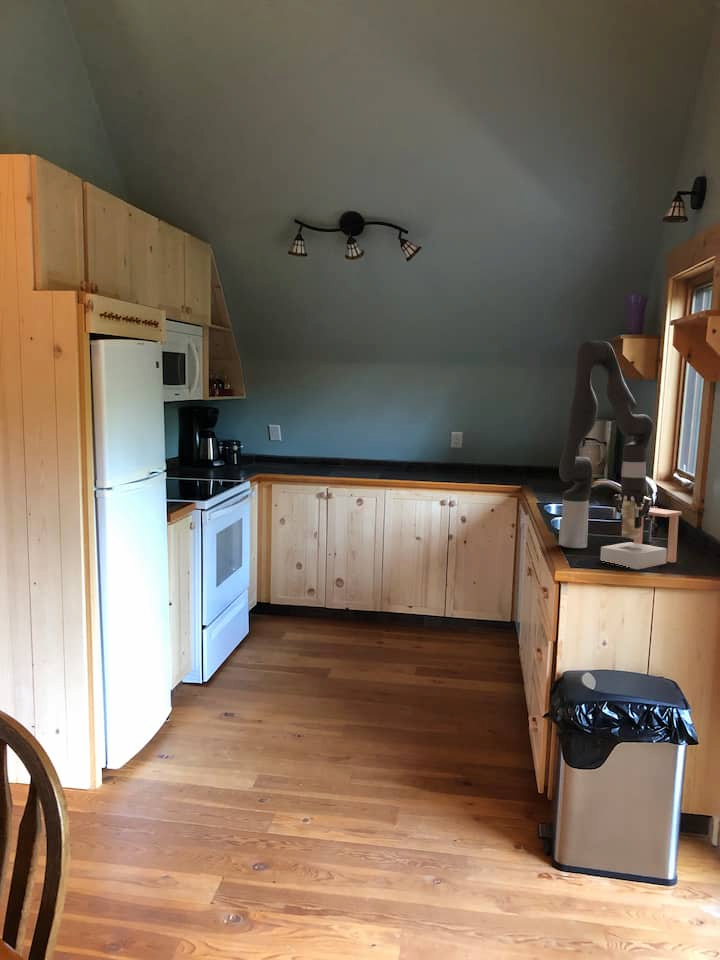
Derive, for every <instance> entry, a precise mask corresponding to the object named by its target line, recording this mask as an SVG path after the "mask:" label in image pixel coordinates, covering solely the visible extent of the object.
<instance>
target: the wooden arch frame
mask: <svg viewBox="0 0 720 960" xmlns="http://www.w3.org/2000/svg"><path fill="white" fill-rule="evenodd" d="M642 507H643V505H642ZM648 515H650V516H655V517H663V518H668V517H669V520H668V521H669V522H668V523H669V524H668V537H667V538H668V540H667V556H666V563H668V562H669V563H676V562H677V550H678V533H679V532H678V530H679V517H680V516H681V515H683V512H682V511H680V510H673V509H672V510H671V509H664V508H656V507H650V510H649V513H648ZM643 517H644V516H643ZM643 517H642V523H641V524H642V525H641V527H640V537H638V538H634V541H633V543H639V544H643V543H642V537H643Z"/></svg>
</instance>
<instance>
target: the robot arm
mask: <svg viewBox="0 0 720 960" xmlns="http://www.w3.org/2000/svg"><path fill="white" fill-rule="evenodd" d="M577 349H578V350H577V353H576V354H577V355H576V363H575V376H574V377H575V378H574V387H573V388H574V389H573V394H572V401H571V406H570V410H569V416H568V417H569V418H568V425H567V432H566V435H565V436H566V437H565V442H564V446H563V449H562V453H561V457H560V461H559V467H558V474H559V478H560V479H561V481H562V482H566V483H567V482H569V483H573V482H575V484H574V485H573V486H572V487H571V488H569V489H567V490H565V491H564V492H563V494H562V512H561V519H559V526H558V527H559V530H558V531H559V532H558V533H559V534H558V535H559V536H558V545H559V546H561V547H563V548H569V549H585V548H587V547H588V533H589V532H588V529H589V527H588V525H589V502H590V495H591V492H592V481H593V472H594V471H593V463H592V460H591V459H590V457H588V456H577V454H578V451H579V449H580V446H581V445H582V443H583V441H585V439H586V438H587V436H588V435H589V434H590V433H591V431H592V430H593V428H595V425H596V422H597V418H598V411H599V403H598V399H597V396H596V394H595V391H594V389H593V386H592V374H593V369H594V368H595V369H597V368H601V369H602V371H604V373H605V375H606V378H607V383H606V396H607V398H608V400H609V401H608V402H609V403H610V405H611V406H612V408H613V410H614V412H615V418H616V422H617V428H618V430H619V431H620V432H621V434H622V435H624V436H626V437H633V438H632V440H631V442H629V443H626V444H625V445H623V450H622V463H621V464H622V465H621V475H620V478H621V480H620V489H621V490H620V491H621V492H620V493H619V494H613V495H612V500H613V503H614V506H615V507H614V508H615V512H616V513H619V514H620V515H621V521H620V522H621V524H622V518H623V501H631V502H635V504H634V506H635V507H634V510H635V516H636V517H635V528H636V529H638V528H640V527H641V525H642V524H641V523H642V517H643V516H646V515H648V513H649V510H650V508H652V504H653V502H654V500H653V498H649V497H647V496H646V494H645V490H646V481H647V480H646V477H647V476H646V475H647V465H646V461H647V456H646V455H647V448H648V445H649V443H650V440H651V439H650V438H651V436H652V432H653V420H652V419H651V417H650V416H648V415H647V414H633V412H634V411H635V410H636V409H637V402H636V400H635V398H634V397H633V395H632V393H631V391H630V390H629V387H628V386H627V384H626V382H625V379H624V377H623V373H622V370H621V367H620V364H619V362H618V358H617V356H616V353H615V350H614V349H613V346H612V345H611V343H609V342H608V341H607V340H606V341H605V340H585V341H583V342H581V344H580V345H579V346H578V348H577ZM639 505H640V507H637V506H639ZM642 506H643V507H642Z"/></svg>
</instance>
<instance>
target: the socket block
mask: <svg viewBox="0 0 720 960" xmlns="http://www.w3.org/2000/svg"><path fill="white" fill-rule="evenodd" d="M667 555H668V548H666V547H660V546H654V545H648V544H645V543H642V544H639V543H634V541H629V542H622V543H616V544H611V545H604V546H600V560H601V561H605V562H610V563H615V564H619V565H623V566H626V567H625V568H628V567H630V568H629V569H632V570H633V569H634V570H642V569H646V568H651V567H655V566H656V567H657V566H661V565H664V564H667ZM600 560H599V561H600ZM605 562H604V563H605ZM619 565H618V566H619ZM623 566H622V567H623Z"/></svg>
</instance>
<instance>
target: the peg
mask: <svg viewBox="0 0 720 960" xmlns="http://www.w3.org/2000/svg"><path fill="white" fill-rule="evenodd" d="M622 504H623V518H622V517H621V519H622V523H621V537H623V538H628V539H632V538H638V537H640V528H638V529H636V528H635V517H636V516H635V510H634V507H635V506H634V504H635V502H631V501H623V500H622ZM637 507H640V505H639V506H637Z"/></svg>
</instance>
